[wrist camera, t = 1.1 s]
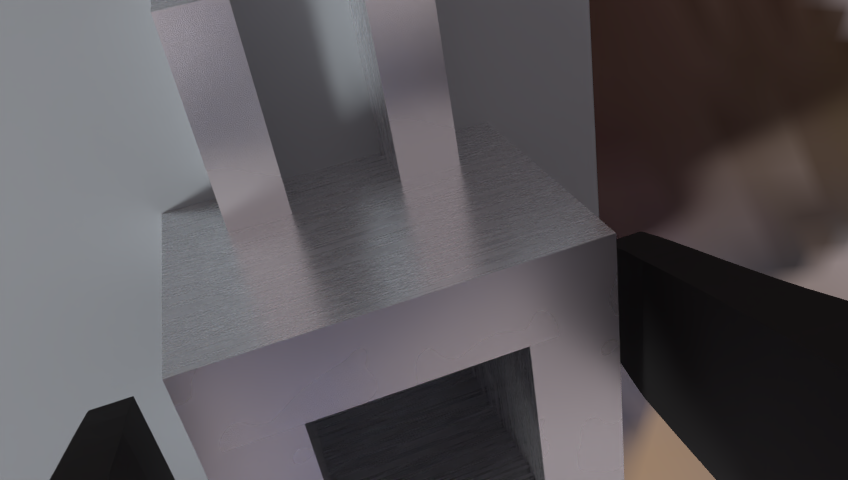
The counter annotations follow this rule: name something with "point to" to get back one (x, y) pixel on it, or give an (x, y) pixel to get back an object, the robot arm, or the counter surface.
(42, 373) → the base plate
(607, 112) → the counter surface
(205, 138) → the metal bracket with prongs
